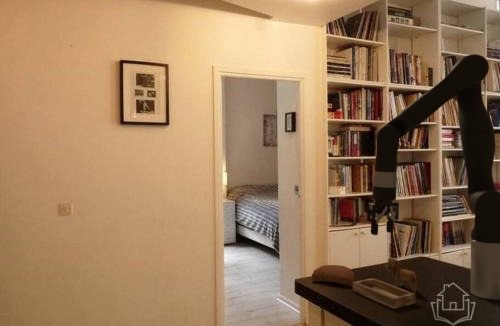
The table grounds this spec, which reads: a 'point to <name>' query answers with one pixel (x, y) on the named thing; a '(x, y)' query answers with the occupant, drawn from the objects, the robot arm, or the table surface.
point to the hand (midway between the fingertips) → (382, 233)
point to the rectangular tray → (384, 293)
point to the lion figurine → (402, 274)
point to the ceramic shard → (334, 275)
